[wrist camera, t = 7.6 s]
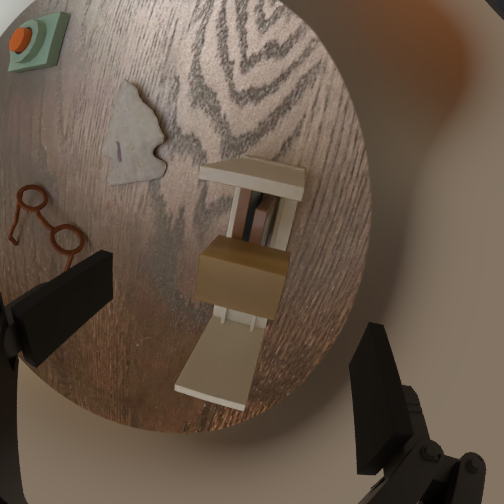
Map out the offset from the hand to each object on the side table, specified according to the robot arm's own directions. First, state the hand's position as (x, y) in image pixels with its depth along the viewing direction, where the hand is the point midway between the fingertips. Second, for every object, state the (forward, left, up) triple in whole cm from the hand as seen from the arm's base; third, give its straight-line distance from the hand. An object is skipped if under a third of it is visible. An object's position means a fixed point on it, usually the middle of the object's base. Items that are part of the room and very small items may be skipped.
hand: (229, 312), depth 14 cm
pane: (0, 0, -16) cm, 16 cm away
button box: (-19, -37, -19) cm, 46 cm away
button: (-19, -37, -15) cm, 45 cm away
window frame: (+3, -1, -19) cm, 19 cm away
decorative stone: (-7, -17, -19) cm, 26 cm away
